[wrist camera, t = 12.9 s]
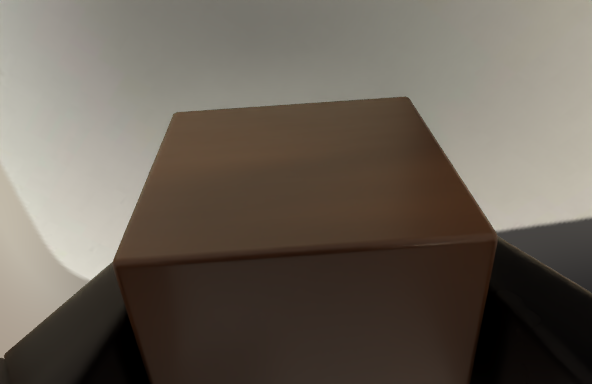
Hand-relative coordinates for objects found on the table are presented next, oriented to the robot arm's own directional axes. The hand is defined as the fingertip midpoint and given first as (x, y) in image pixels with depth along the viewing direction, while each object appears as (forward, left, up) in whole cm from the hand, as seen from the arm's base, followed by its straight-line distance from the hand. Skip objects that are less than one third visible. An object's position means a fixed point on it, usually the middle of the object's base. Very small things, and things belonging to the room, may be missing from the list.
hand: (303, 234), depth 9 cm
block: (0, 0, -1) cm, 1 cm away
